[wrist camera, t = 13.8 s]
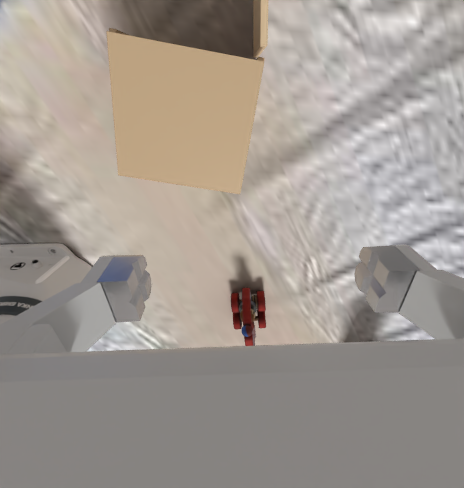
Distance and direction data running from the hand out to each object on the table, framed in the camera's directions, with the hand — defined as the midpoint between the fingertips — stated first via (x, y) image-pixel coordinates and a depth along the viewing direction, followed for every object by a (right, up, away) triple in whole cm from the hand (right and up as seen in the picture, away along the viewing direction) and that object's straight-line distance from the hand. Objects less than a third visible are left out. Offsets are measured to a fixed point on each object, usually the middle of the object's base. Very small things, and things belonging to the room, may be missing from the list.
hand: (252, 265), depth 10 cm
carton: (-5, +20, +26) cm, 33 cm away
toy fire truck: (+3, -12, +46) cm, 48 cm away
